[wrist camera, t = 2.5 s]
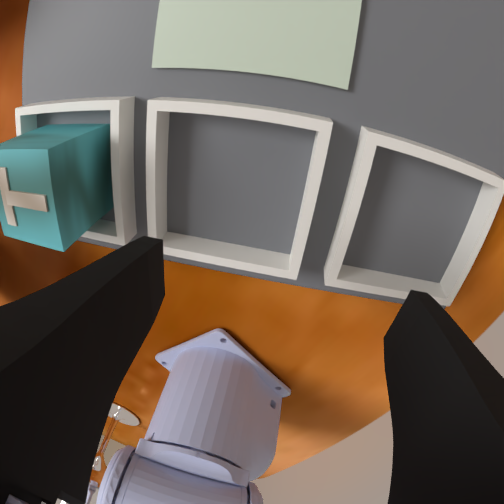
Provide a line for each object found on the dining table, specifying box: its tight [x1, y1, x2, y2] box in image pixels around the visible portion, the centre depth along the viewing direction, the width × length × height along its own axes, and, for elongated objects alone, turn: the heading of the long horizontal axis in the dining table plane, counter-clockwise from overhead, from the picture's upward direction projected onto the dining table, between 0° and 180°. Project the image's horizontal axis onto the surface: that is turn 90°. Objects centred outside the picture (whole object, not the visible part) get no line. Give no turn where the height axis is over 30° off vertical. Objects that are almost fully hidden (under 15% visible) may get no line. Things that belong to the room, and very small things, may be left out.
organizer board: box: [15, 0, 504, 309], centre depth 12 cm, size 20×29×2 cm
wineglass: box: [55, 402, 140, 504], centre depth 28 cm, size 8×8×18 cm
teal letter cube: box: [0, 124, 114, 252], centre depth 13 cm, size 5×5×5 cm
